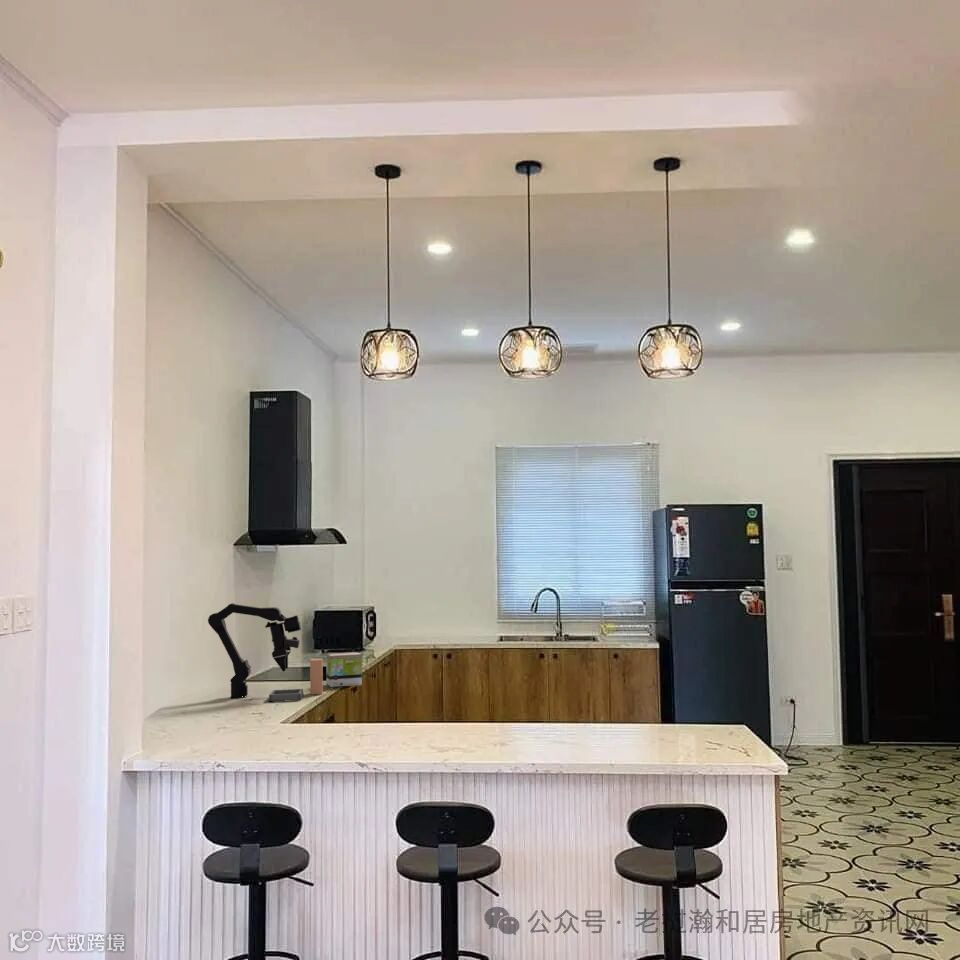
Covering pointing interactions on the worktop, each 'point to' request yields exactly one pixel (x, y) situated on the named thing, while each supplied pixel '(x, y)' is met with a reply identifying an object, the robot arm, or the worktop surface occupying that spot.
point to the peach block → (316, 676)
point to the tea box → (344, 669)
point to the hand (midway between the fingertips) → (285, 669)
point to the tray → (286, 695)
